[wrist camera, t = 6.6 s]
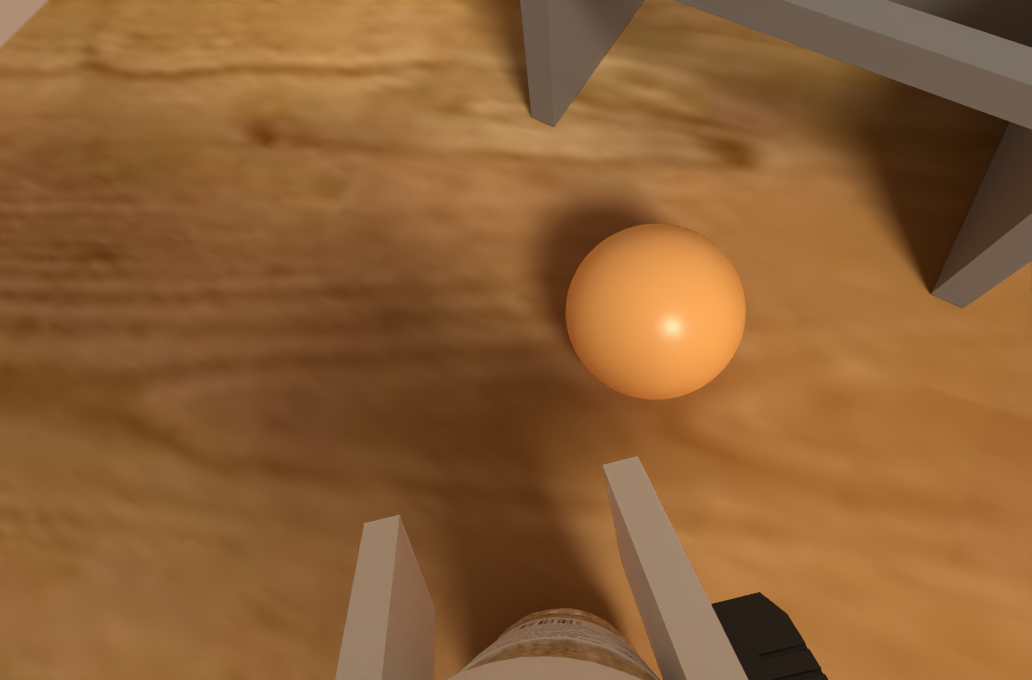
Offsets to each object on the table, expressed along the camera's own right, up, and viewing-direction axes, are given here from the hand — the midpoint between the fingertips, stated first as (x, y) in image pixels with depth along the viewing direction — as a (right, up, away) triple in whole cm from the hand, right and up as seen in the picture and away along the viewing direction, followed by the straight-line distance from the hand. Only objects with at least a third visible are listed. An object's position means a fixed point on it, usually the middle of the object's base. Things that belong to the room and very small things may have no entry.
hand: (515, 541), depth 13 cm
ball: (+4, +5, +5) cm, 8 cm away
